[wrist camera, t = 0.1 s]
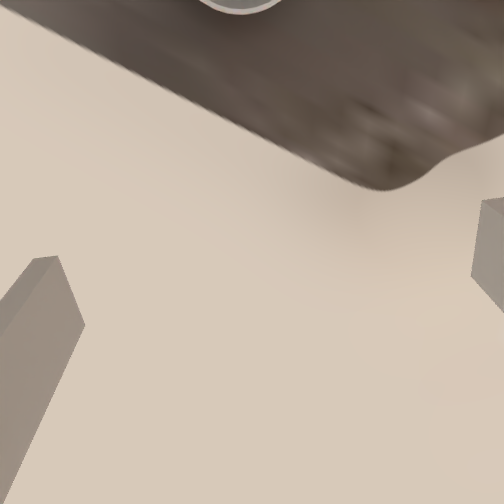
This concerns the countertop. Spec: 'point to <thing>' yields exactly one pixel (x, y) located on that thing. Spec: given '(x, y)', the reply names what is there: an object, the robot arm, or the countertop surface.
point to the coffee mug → (240, 5)
